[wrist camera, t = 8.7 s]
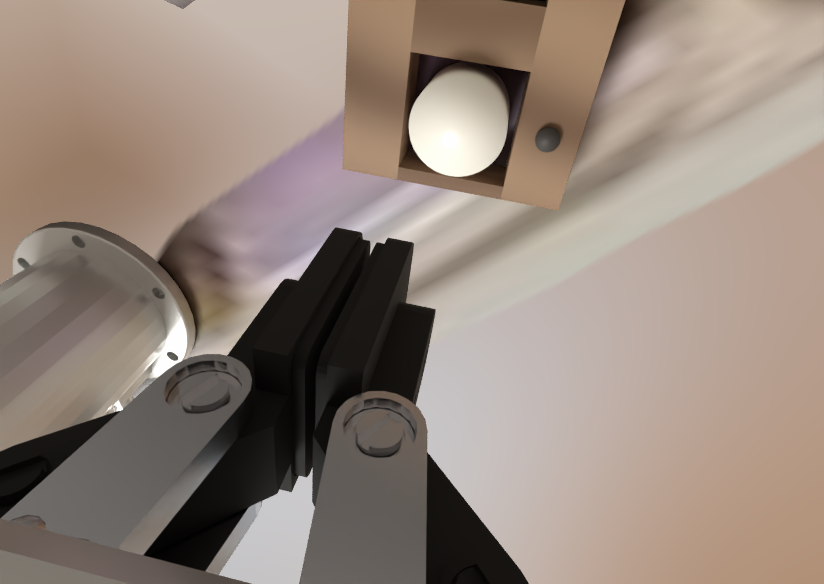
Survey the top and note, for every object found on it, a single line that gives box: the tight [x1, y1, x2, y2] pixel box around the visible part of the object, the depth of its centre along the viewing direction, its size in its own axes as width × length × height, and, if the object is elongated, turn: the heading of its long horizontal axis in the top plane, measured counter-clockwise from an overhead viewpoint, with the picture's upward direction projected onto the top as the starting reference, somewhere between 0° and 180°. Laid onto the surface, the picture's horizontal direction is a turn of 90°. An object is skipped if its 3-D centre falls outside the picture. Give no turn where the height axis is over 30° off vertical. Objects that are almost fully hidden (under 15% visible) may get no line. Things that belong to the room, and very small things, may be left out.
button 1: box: [409, 61, 510, 177], centre depth 21 cm, size 4×4×3 cm
